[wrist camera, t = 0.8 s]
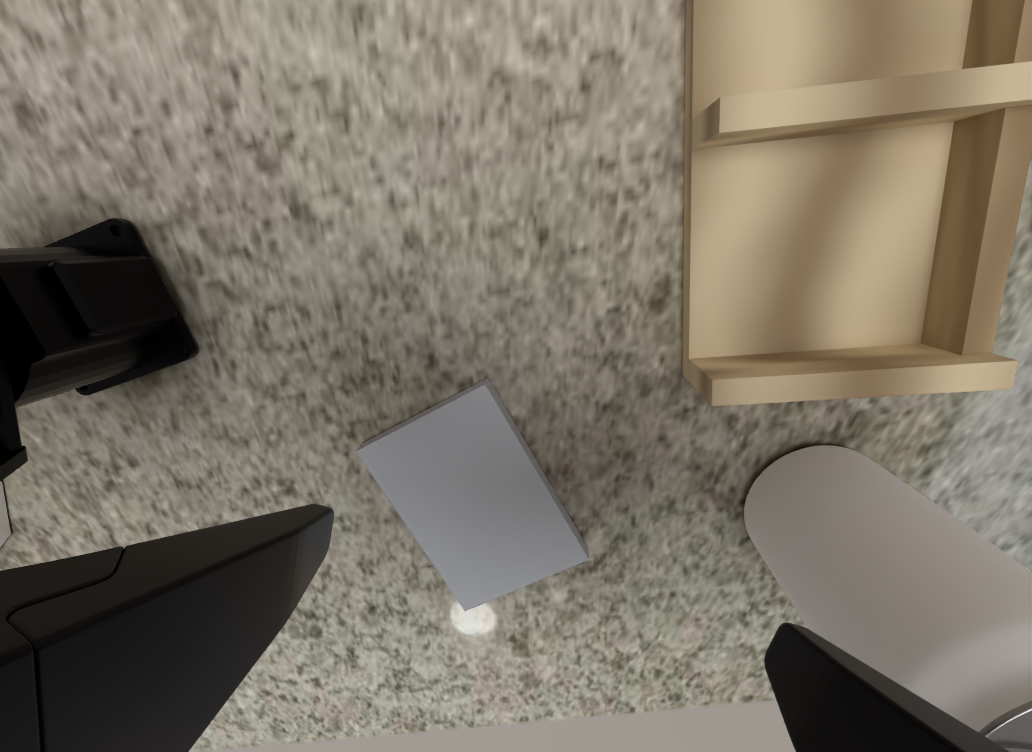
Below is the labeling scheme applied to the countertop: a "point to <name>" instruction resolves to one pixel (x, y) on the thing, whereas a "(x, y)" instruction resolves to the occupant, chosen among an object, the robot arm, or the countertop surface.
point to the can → (900, 585)
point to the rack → (851, 195)
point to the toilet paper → (3, 518)
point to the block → (474, 496)
